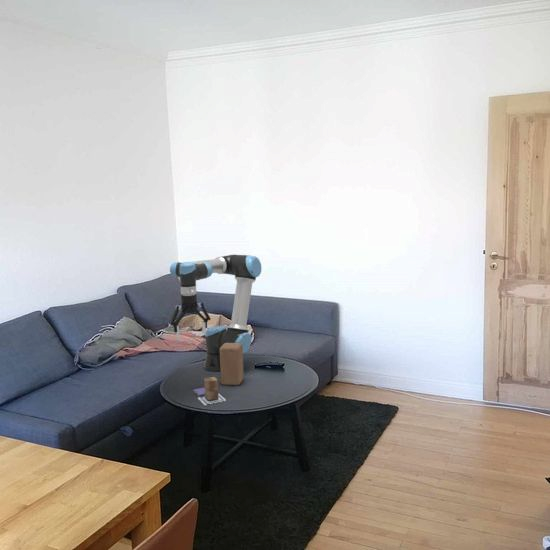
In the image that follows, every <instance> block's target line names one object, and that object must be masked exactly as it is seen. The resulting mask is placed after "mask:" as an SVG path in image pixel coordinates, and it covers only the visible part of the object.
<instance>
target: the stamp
mask: <svg viewBox="0 0 550 550" xmlns="http://www.w3.org/2000/svg"><path fill="white" fill-rule="evenodd" d="M203 381H204V383H203V384H204V388H205V399H206V400H207V401H208V402H210V401H215V400H219V399H218V394H219V386H218V384H219V381H218V379H217V378H216V377H214V376H212V377H210V376H209V377H204V378H203Z"/></svg>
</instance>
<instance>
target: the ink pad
mask: <svg viewBox="0 0 550 550" xmlns="http://www.w3.org/2000/svg"><path fill="white" fill-rule="evenodd" d="M192 393H194V394H195V395H196V396H197V398H199V397H203V396H205V387H200V388H195V389H192Z"/></svg>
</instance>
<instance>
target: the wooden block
mask: <svg viewBox="0 0 550 550" xmlns="http://www.w3.org/2000/svg"><path fill="white" fill-rule="evenodd" d="M243 354H244V353H243V349H242V344H241V343H224V344H223V345H222V346H221V347H220V370H221V371H220V384H221V385H223V386H225V385H227V386H240V384H241V383H242V382H243V380H244V377H245V376H244V355H243Z"/></svg>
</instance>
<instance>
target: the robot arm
mask: <svg viewBox="0 0 550 550" xmlns="http://www.w3.org/2000/svg"><path fill="white" fill-rule="evenodd" d="M169 273H170V275H171V276H172V277H174V278H175V277H176V278H180V279H179V280H180V281H179V282H180V283H179V284H180V294H181V296H180V298H181V299H180V301H181V305H177V304H175V306H174V311H173V314H172V316H171V317H170V318H171V319H170V322H169V325H170V326H173V331H174V333H175V339H177V340H180V327H179V323H180V322H181V320H182V319H183V318H184V316H185V315H186V314H187V315H188V314H194V313H195V314H196V315H197V316H199V318H200V319H201V320H202V321H201V327H202V328H201V329H202V330H201V331H202V332H201V333H202V335H204V336H205V348H206V356H205V359H204V363H203V367H204V369H205V370H206V371H209V372H221V370H220V347H221V346H222V345H223V344H224V343H241V344H242V349H243V354H245V353H246V352H247V351H249V349H250V347H251V345H252V335H251V334H250V333H249V328H248V327H247V323H248V317H249V309H250V303H251V295H252V288H253V283H255V282H256V279H257V278H258V277H259V276H260V275H261V273H262V262H261V260H260V259H259V258H258V257H257V256H255V255H250V254H229V255H224V256H217V257H215V258H214V259H213V258H212V259H204V260H196V261H194V260H193V261H187V262H186V261H185V262H184V261H183V262H179V261H177V262H172V263H171V265H170V267H169ZM213 274H218V275H230V276H234V279H235V280H236V286H235V293H234V299H233V308H232V314H231V321H230V324H229V325H228V326H227V327H226V325H217V326H212V327H211V326H210V327H209V328H208V321H211V317H210V314H209V313H208V311H207V310H206V308H205V306H204V303H203V302H202V301H200V302H199V303H198V296H197V281H200V280H203V279H204V280H205V279H207V278H210V277H211V276H212V275H213ZM198 307H199V308H200V310H201V311H202V313H203V314H202V313H201V312H200V311H199V310H198V309H197V308H198ZM180 310H181V311H180ZM179 311H180V314H179ZM178 314H179V315H178Z"/></svg>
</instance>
